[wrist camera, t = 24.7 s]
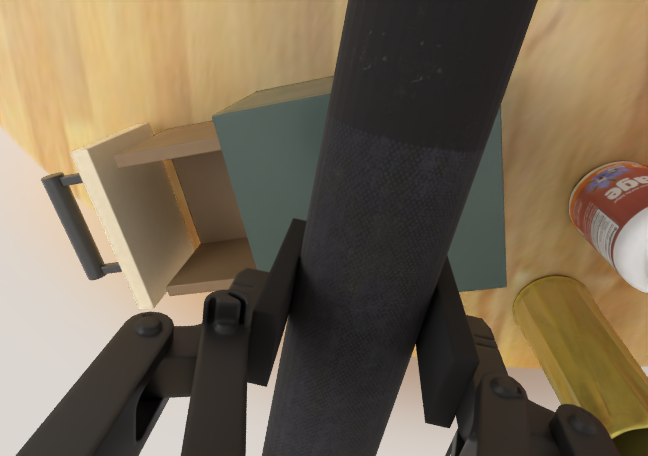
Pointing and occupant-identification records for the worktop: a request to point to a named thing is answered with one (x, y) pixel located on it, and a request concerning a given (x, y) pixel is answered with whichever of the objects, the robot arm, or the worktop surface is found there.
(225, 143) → the cabinet
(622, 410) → the vase
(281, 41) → the worktop surface
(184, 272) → the drawer
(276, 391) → the suppressor
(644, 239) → the pill bottle
